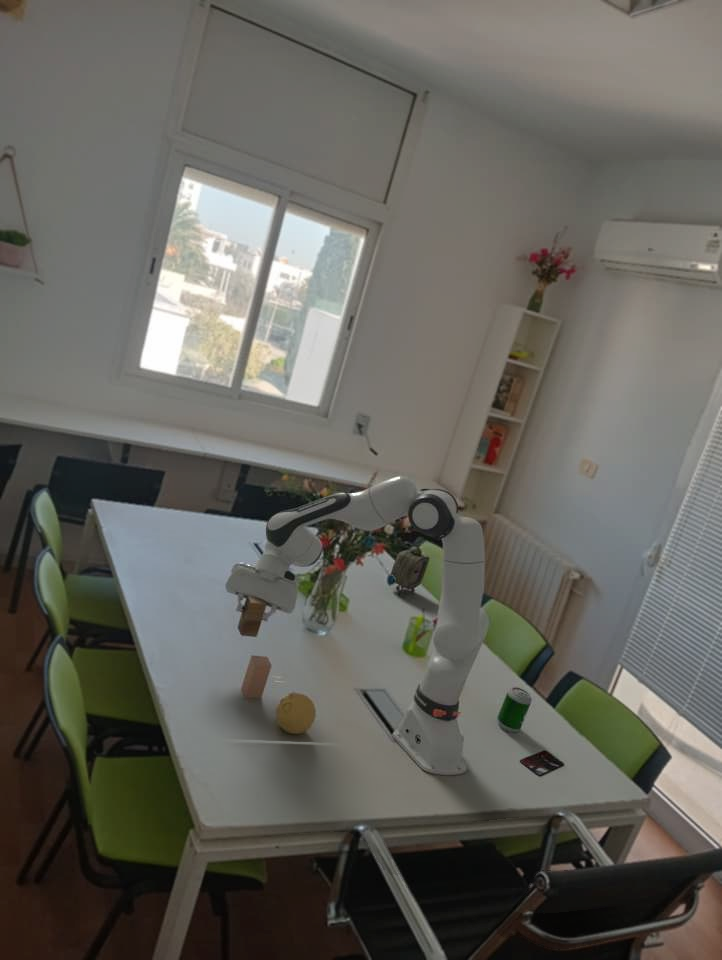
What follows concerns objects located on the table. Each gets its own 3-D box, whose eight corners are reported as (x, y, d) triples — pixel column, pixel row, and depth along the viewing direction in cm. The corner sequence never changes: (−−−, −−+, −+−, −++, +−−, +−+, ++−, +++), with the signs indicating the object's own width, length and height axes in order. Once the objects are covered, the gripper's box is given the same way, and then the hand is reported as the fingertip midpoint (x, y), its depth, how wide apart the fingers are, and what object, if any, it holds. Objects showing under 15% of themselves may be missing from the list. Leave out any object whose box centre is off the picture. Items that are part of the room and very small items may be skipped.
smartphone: (565, 764, 215) (539, 775, 205) (564, 766, 216) (538, 778, 205) (545, 749, 220) (518, 759, 209) (544, 751, 220) (517, 761, 209)
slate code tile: (294, 689, 208) (295, 688, 208) (267, 687, 205) (268, 686, 205) (286, 674, 215) (287, 672, 215) (260, 672, 212) (261, 670, 212)
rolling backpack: (402, 599, 304) (421, 543, 299) (384, 589, 308) (402, 534, 303) (417, 593, 316) (436, 539, 311) (400, 584, 321) (418, 531, 315)
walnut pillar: (256, 637, 204) (266, 604, 202) (241, 635, 202) (251, 602, 200) (252, 628, 208) (262, 596, 206) (237, 627, 206) (247, 594, 204)
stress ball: (311, 735, 191) (305, 697, 196) (323, 726, 183) (317, 686, 188) (274, 740, 187) (269, 700, 192) (285, 730, 179) (279, 689, 184)
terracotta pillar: (261, 698, 198) (271, 665, 196) (245, 697, 196) (255, 664, 194) (257, 689, 202) (267, 656, 200) (241, 687, 200) (251, 655, 198)
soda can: (514, 737, 222) (528, 702, 219) (492, 724, 225) (505, 689, 223) (522, 729, 228) (536, 695, 226) (500, 716, 232) (514, 683, 229)
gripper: (235, 555, 209) (215, 598, 201) (304, 579, 207) (286, 623, 200) (236, 565, 214) (216, 607, 207) (303, 588, 213) (285, 632, 205)
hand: (251, 615), depth 203 cm, fingers closed on walnut pillar, 6 cm apart
